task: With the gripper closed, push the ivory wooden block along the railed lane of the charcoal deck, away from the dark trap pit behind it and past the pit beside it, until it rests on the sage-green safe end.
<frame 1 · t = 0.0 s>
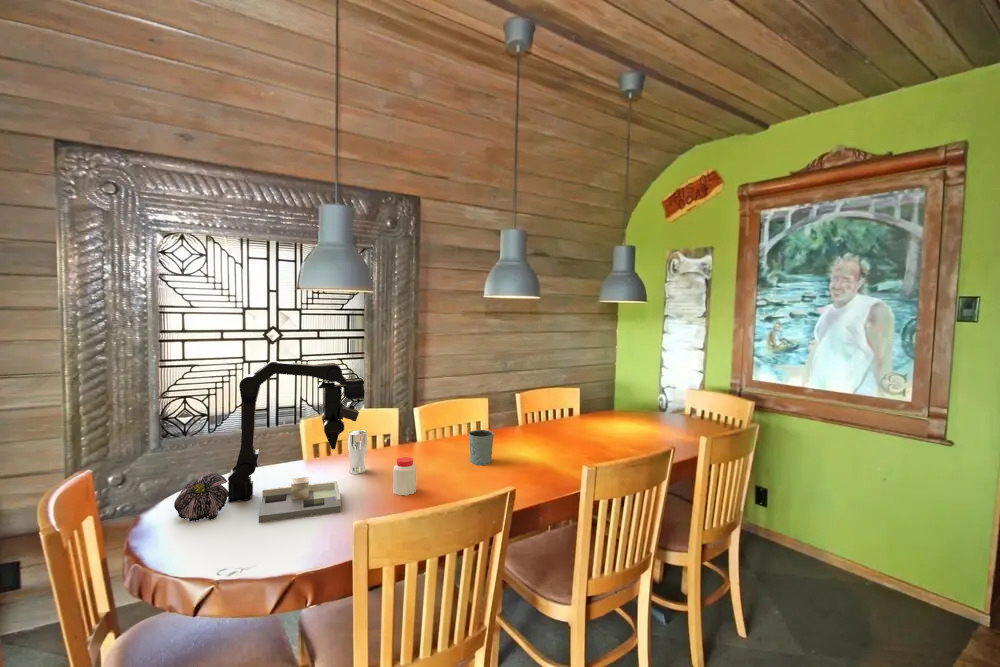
hand: (332, 445, 169), 15 cm above the table, tool pointing down, fingers open, 9 cm apart
grey cup: (480, 462, 201), on the table
pill bottle: (404, 491, 168), on the table
ivory block: (300, 495, 157), point 2 cm above the table, touching trap deck
beer glass: (357, 471, 186), on the table
decorative flower: (202, 513, 148), on the table
trap deck: (300, 506, 154), on the table
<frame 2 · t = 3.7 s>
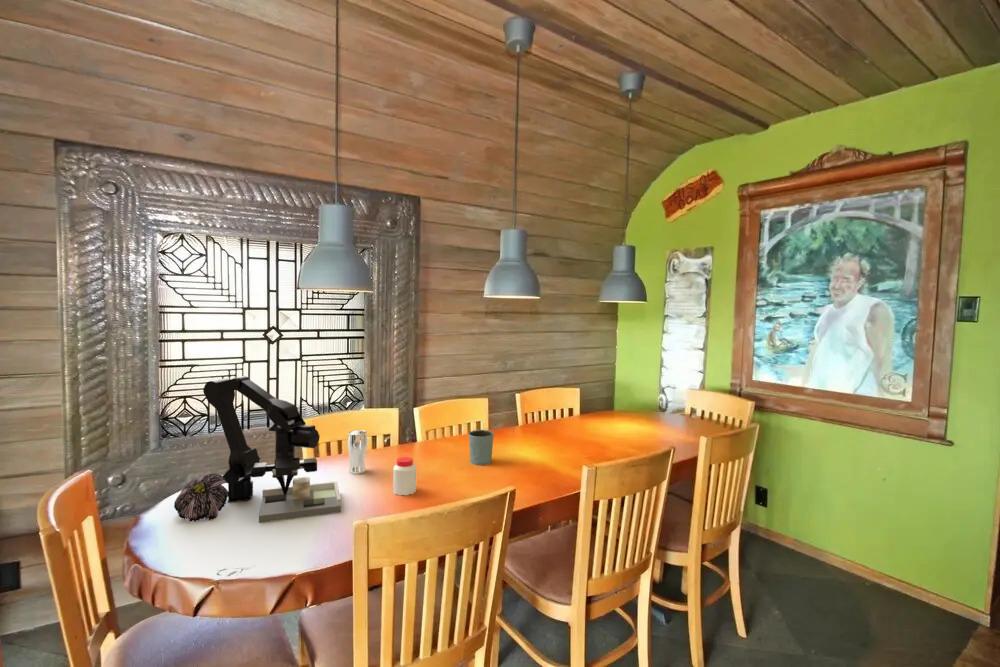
hand: (285, 494, 155), 3 cm above the table, tool pointing down, fingers closed
ivory block: (301, 495, 157), point 2 cm above the table, touching gripper
everything else where it was.
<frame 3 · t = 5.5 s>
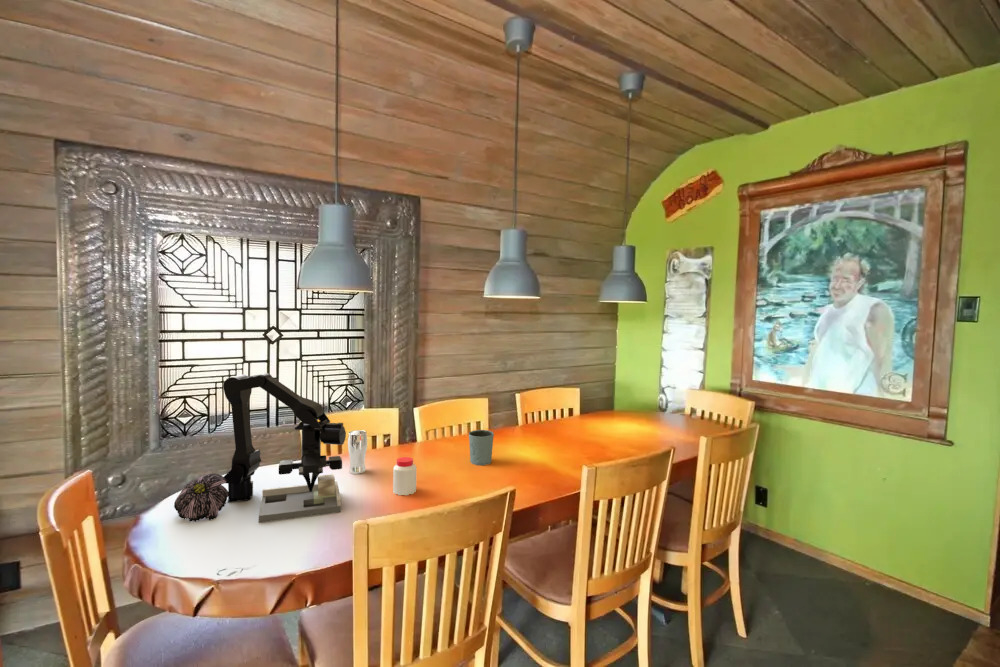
hand: (310, 491, 158), 3 cm above the table, tool pointing down, fingers closed
ivory block: (326, 492, 160), point 2 cm above the table, touching gripper, trap deck
everything else where it was.
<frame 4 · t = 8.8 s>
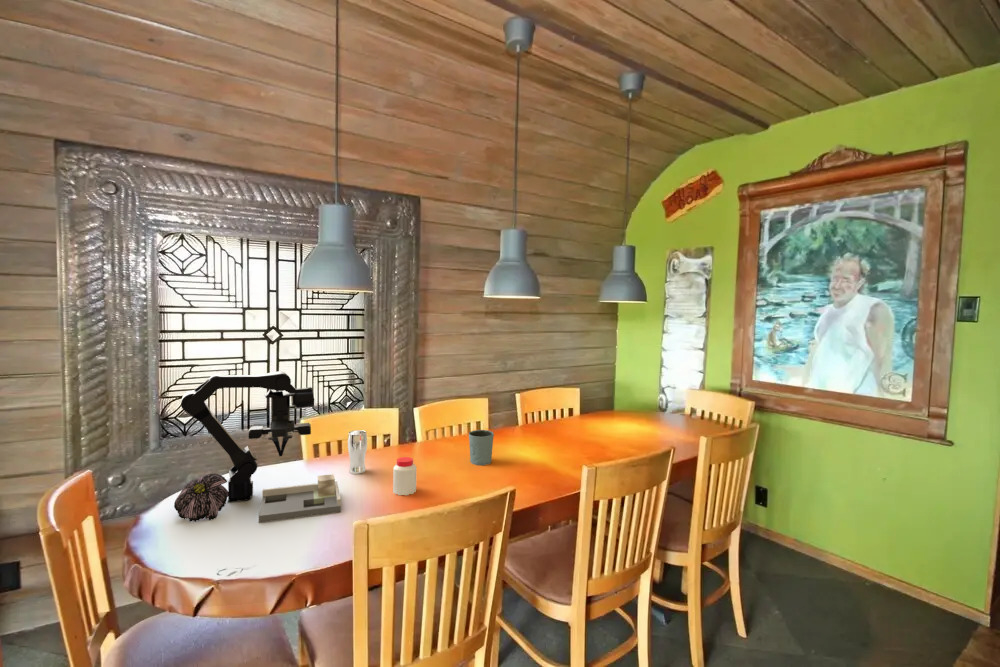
hand: (280, 455, 165), 12 cm above the table, tool pointing down, fingers closed
ivory block: (326, 492, 160), point 2 cm above the table, touching trap deck
everything else where it was.
at the end: ivory block 1.2 cm from the target spot, point 2.0 cm above the table; ivory block tilted 0°; the gripper is holding nothing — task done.
